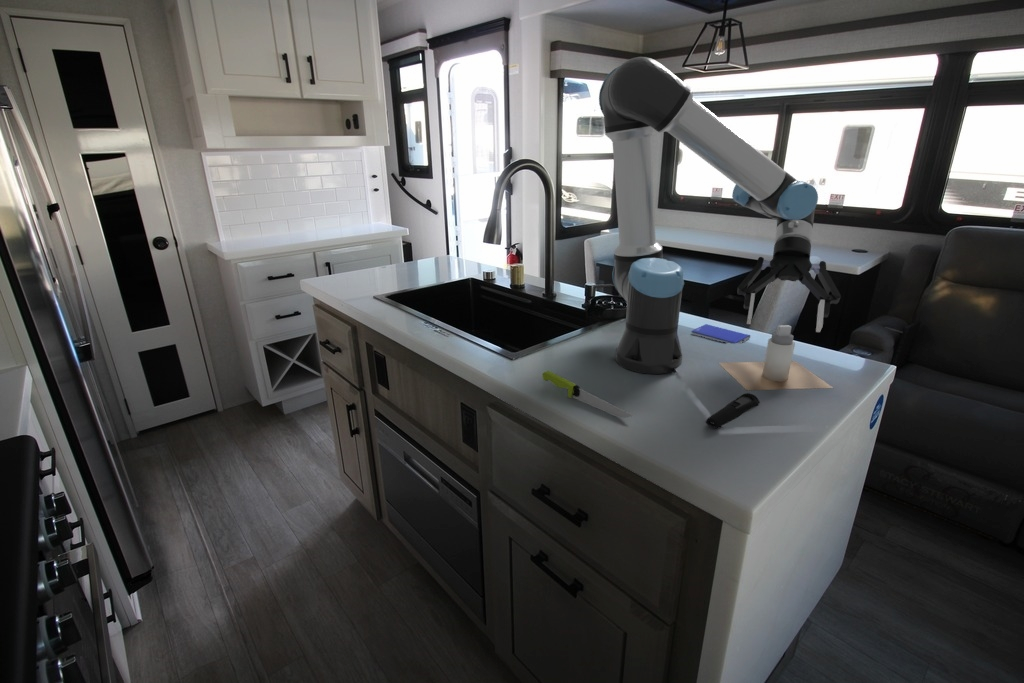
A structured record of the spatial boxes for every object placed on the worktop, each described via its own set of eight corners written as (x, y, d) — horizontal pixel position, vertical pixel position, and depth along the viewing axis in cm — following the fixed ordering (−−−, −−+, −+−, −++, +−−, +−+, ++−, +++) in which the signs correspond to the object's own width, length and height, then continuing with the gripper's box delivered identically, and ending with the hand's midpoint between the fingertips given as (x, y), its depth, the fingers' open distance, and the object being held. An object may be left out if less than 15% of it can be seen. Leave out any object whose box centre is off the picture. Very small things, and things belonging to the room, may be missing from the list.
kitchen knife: (632, 426, 95) (634, 413, 93) (628, 429, 94) (630, 415, 93) (545, 381, 109) (546, 369, 108) (541, 383, 108) (542, 370, 107)
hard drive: (691, 330, 138) (736, 342, 129) (706, 323, 143) (750, 334, 134) (690, 335, 138) (735, 348, 129) (706, 328, 143) (749, 340, 134)
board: (745, 394, 104) (746, 389, 104) (717, 366, 117) (718, 362, 117) (832, 392, 104) (833, 387, 104) (794, 365, 117) (795, 361, 117)
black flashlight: (698, 428, 93) (700, 413, 91) (742, 401, 102) (745, 387, 100) (717, 436, 90) (720, 421, 89) (761, 408, 99) (763, 394, 98)
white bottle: (769, 381, 107) (778, 330, 103) (757, 372, 112) (766, 322, 108) (792, 381, 107) (803, 329, 103) (780, 371, 112) (789, 322, 108)
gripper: (735, 231, 120) (722, 310, 112) (860, 237, 110) (855, 324, 102) (733, 250, 126) (721, 325, 119) (851, 257, 116) (845, 340, 109)
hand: (783, 325), depth 111 cm, fingers open, 13 cm apart
